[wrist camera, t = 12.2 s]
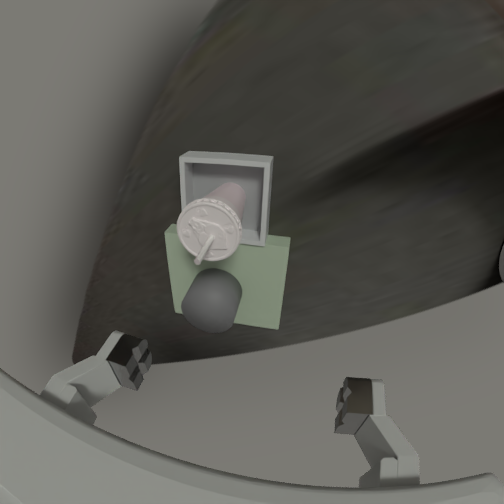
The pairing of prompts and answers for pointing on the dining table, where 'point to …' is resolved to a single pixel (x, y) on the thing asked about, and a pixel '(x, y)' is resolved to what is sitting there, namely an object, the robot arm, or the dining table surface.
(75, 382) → the robot arm
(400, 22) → the dining table surface
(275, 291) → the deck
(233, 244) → the smoothie
